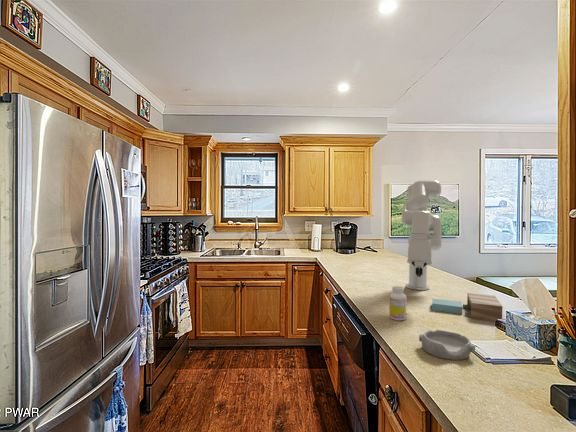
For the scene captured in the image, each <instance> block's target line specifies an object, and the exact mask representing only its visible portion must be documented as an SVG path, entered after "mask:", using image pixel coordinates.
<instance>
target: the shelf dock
mask: <svg viewBox="0 0 576 432" xmlns="http://www.w3.org/2000/svg"><path fill="white" fill-rule="evenodd" d="M466 298H467V301H466V304H464V303H463V304H462V309H469V310H470V311H466V310H465V311H464V316H466V317H470V319H473V320H474V319H476V320H484V321H491V322H496V319H502V320H503V304H501V302H500V301H499V299H498V297H496V295H492V294H482V293H473V292H467V297H466Z"/></svg>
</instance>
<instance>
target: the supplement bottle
mask: <svg viewBox="0 0 576 432" xmlns="http://www.w3.org/2000/svg"><path fill="white" fill-rule="evenodd" d="M391 287H392V288H391V291H392V292H390V294H389V318H390V319H392V320H395V321H404V320H406V319H407V295H406V293H404V292H405V288H404V286H397V285H395V286H391Z"/></svg>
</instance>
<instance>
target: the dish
mask: <svg viewBox="0 0 576 432" xmlns="http://www.w3.org/2000/svg"><path fill="white" fill-rule="evenodd" d="M418 340H419V342H421V346H422V349H423V350H424V351H425V352H427V353H428V354H429V355H432V356H434V357H436V358H440V359H445V360H453V361H454V360H456V361H457V360H465V359H468V358H469V357H470V355H471V353H474V352H475V351H476V345H475V344H472V342H471V340H470V339H469V338H468V336H466V335H463V334H460V333H458V332H453V331H448V330H442V329H436V330H429V329H428V330H427V331H425V332H423V334H422V333H420V334H419V336H418Z"/></svg>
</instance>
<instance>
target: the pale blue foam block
mask: <svg viewBox="0 0 576 432" xmlns="http://www.w3.org/2000/svg"><path fill="white" fill-rule="evenodd" d="M431 299H432V301H431V302H432V303H431V305H432V306H431V311H436V312H437V311H438V312H444V313H452V314H461V315H462V314H463V304H462V302H461V301H457V300H456V301H455V300H451V299H450V300H449V299H439V298H431Z"/></svg>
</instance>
